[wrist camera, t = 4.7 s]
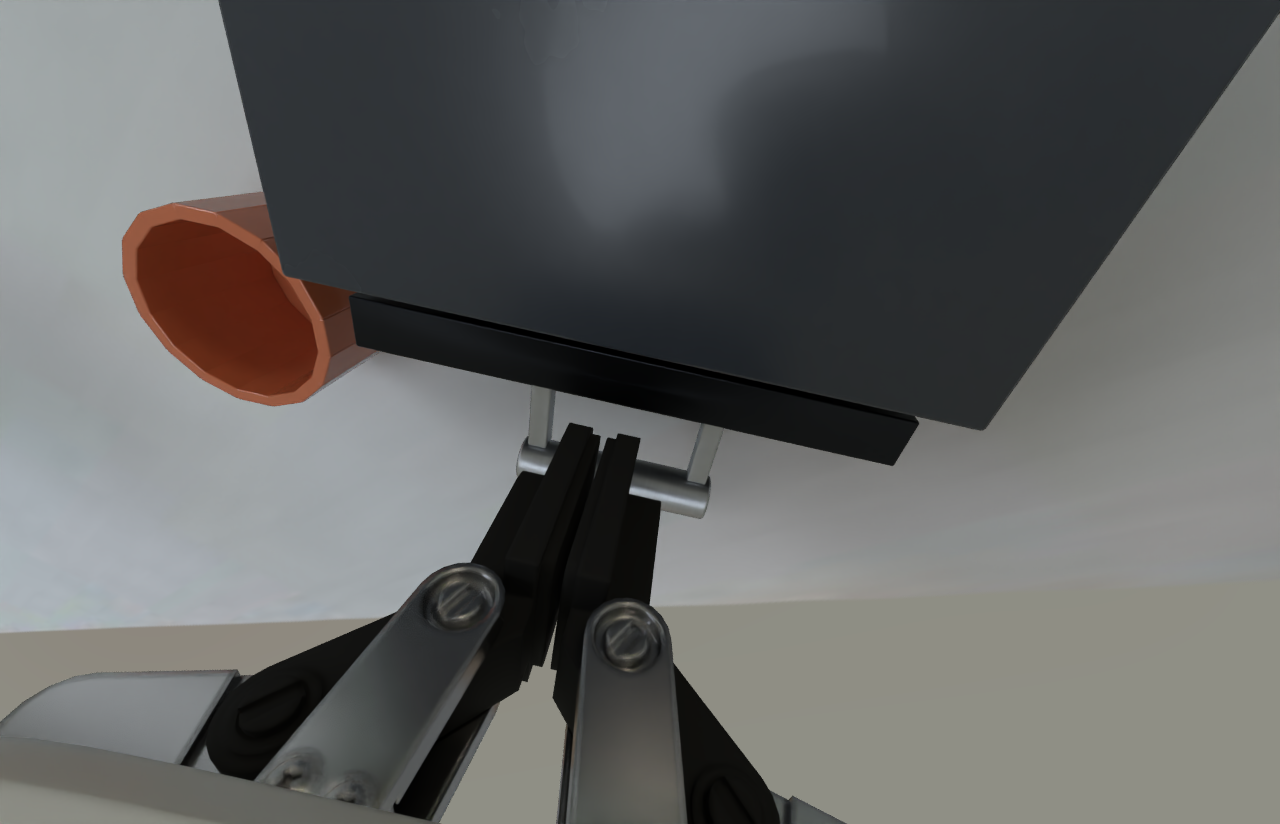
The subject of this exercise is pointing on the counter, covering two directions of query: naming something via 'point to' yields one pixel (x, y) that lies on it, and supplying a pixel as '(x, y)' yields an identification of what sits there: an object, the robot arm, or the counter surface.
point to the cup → (237, 301)
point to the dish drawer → (630, 395)
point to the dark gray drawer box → (734, 169)
